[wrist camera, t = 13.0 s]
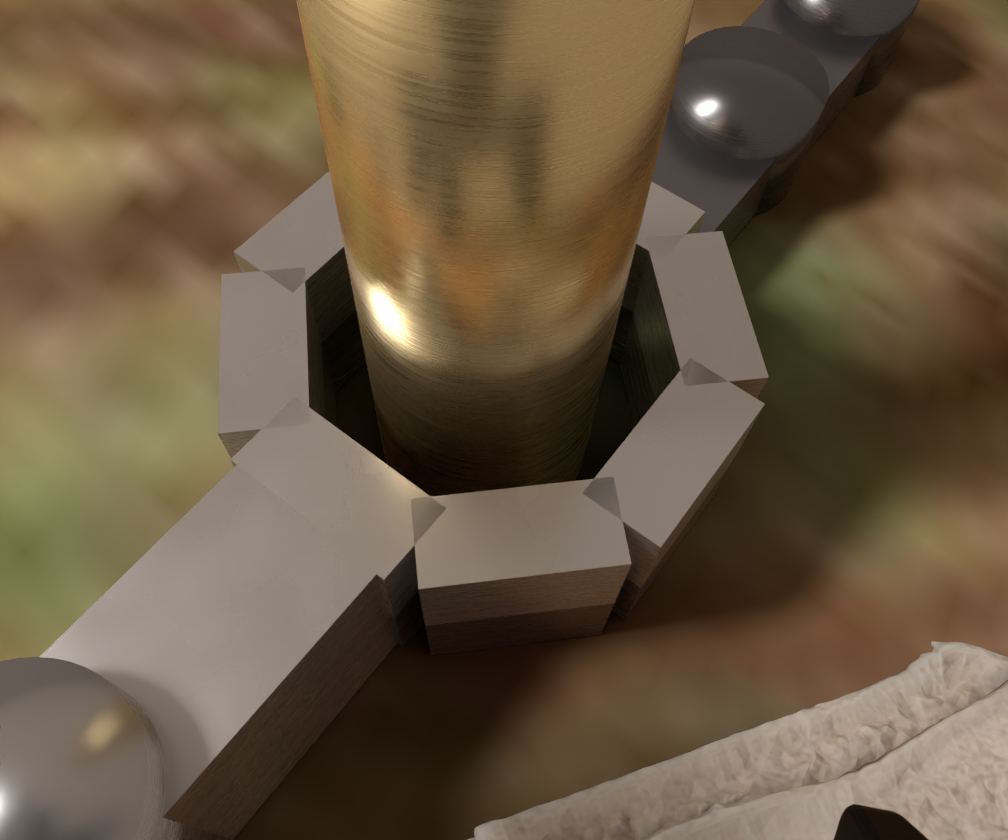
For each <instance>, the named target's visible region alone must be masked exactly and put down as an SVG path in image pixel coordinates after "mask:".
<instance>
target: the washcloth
mask: <svg viewBox="0 0 1008 840" xmlns="http://www.w3.org/2000/svg"><path fill="white" fill-rule="evenodd" d="M931 644H932V647H933V651H932V652H929V653H925V654H921V656H920V658H919V659H918V660H916V661H915V662H913V663H911V664H910V665H909V667H908V668H907V669H906V670H905V671H903V672H901V673H899V674H897V675H895V676H891V677H888V678H886V679H883V680H881V681H879V682H877V683H875V684H873V685H870V686H868V687H866V688H863V689H861V690H859V691H856V692H853V693H850V694H848V695H845V696H843V697H840V698H838V699H835V700H832V701H829V702H826V703H820V704H817V705H816V706H814V707H812V708H809V709H803V710H800V711H798V712H796V713H794V714H791V715H788V716H785V717H782V718H779V719H777V720H773V721H770V722H767V723H764V724H763V725H760V726H757V727H755V728H752V729H749V730H746V731H743V732H739V733H736V734H733V735H731V736H729V737H727V738H724V739H720V740H717V741H714V742H712V743H710V744H708V745H705V746H702V747H700V748H697V749H695V750H693V751H691V752H688V753H685V754H682V755H679V756H676V757H674V758H672V759H669V760H666V761H663V762H660V763H657V764H655V765H652V766H650V767H645V768H642V769H640V770H637V771H635V772H632V773H630V774H627V775H624V776H622V777H620V778H618V779H614V780H610V781H606V782H604V783H601V784H599V785H597V786H594V787H592V788H589V789H586V790H583V791H580V792H577V793H574V794H572V795H570V796H567V797H565V798H561V799H558V800H555V801H552V802H549V803H546V804H542V805H537V806H535V807H532V808H530V809H527V810H525V811H523V812H520V813H518V814H515V815H513V816H511V817H507V818H504V819H499V820H492V821H489V822H486V823H484V824H482V825H479V826H478V827H476V828H475V830H474V835H475V837H473V838H470V839H467V840H834V836H835V833H836V830H837V827H838V823H839V820H840V817H841V815H842V813H843V812H844V810H845V809H846V808H847V807H848V806H850V805H852V804H858V805H863V806H868V807H874V808H879V809H884V810H889V811H894V812H896V813H898V814H900V815H901V816H903V817H904V818H905V819H906V820H907V821H909V822H910V823H911V824H912V825H913V826H914V827H915V828H916V829H918V830H919V831H920V832H921V833H922V834H923V835H924V836H925V837H926V838H928V839H929V840H1008V657H1006V656H1003V655H1000V654H996V653H994V652H991V651H988V650H986V649H983V648H981V647H977V646H974V645H970V644H967V643H962V642H932V643H931Z"/></svg>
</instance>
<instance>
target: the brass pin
mask: <svg viewBox="0 0 1008 840" xmlns="http://www.w3.org/2000/svg"><path fill="white" fill-rule="evenodd" d="M694 4H695V0H297V5H298V10H299V16H300V21H301V26H302V31H303V36H304V41H305V47H306V52H307V57H308V62H309V67H310V73H311V78H312V83H313V88H314V93H315V98H316V104H317V109H318V114H319V119H320V124H321V130H322V135H323V140H324V145H325V150H326V155H327V161H328V166H329V171H330V176H331V181H332V187H333V192H334V197H335V202H336V207H337V212H338V218H339V223H340V228H341V233H342V238H343V244H344V249H345V254H346V259H347V264H348V270H349V275H350V280H351V285H352V290H353V295H354V301H355V306H356V311H357V316H358V321H359V327H360V332H361V337H362V342H363V347H364V352H365V358H366V363H367V368H368V373H369V378H370V384H371V389H372V394H373V399H374V404H375V409H376V415H377V420H378V425H379V430H380V435H381V441H382V446H383V451H384V456H385V460H386V463H387V465H388V466H390V467H391V468H392V469H394V470H395V471H396V472H398V473H399V474H401V475H402V476H403V477H405V478H406V479H407V480H409V481H410V482H411V483H413V484H414V485H416V486H417V487H418V488H420V489H421V490H422V491H424V492H425V493H426V494H428V495H429V496H430V497H433V496H442V495H451V494H460V493H469V492H478V491H487V490H496V489H506V488H515V487H524V486H533V485H542V484H551V483H560V482H569V481H575V480H576V478H577V476H578V474H579V472H580V469H581V466H582V463H583V460H584V457H585V452H586V448H587V444H588V440H589V436H590V432H591V428H592V424H593V420H594V415H595V411H596V407H597V403H598V399H599V395H600V391H601V387H602V383H603V378H604V374H605V370H606V366H607V362H608V358H609V354H610V350H611V346H612V341H613V337H614V333H615V329H616V325H617V321H618V317H619V313H620V309H621V304H622V300H623V296H624V292H625V288H626V284H627V280H628V276H629V272H630V267H631V263H632V259H633V255H634V251H635V247H636V243H637V239H638V235H639V230H640V226H641V222H642V218H643V214H644V210H645V206H646V202H647V198H648V193H649V189H650V185H651V181H652V177H653V173H654V169H655V165H656V161H657V156H658V152H659V148H660V144H661V140H662V136H663V132H664V128H665V124H666V119H667V115H668V111H669V107H670V103H671V99H672V95H673V91H674V87H675V82H676V78H677V74H678V70H679V66H680V62H681V58H682V54H683V50H684V45H685V41H686V37H687V33H688V29H689V25H690V21H691V17H692V13H693V8H694Z"/></svg>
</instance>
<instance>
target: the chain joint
mask: <svg viewBox="0 0 1008 840" xmlns="http://www.w3.org/2000/svg"><path fill="white" fill-rule="evenodd" d="M919 1H920V0H765V1H764V3H763V4H762V5H761V6H760V7H759V8H758V9H757V10H756V11H755V12H754V13H753V14H752V15H751V16H750V17H749V18H748V19H747V20H746V21H745V22H744V23H743V24H742V25H741V26H732V27H723V28H719V29H714V30H711V31H708V32H705V33H703V34H701V35H699V36H697V37H696V38H694V39H692V40H691V41H690V42H689V43H688V44H686V46H685V47H684V50H683V54H682V58H681V62H680V66H679V70H678V74H677V78H676V82H675V87H674V91H673V95H672V99H671V103H670V107H669V111H668V115H667V119H666V124H665V128H664V132H663V136H662V140H661V144H660V148H659V152H658V156H657V161H656V165H655V169H654V173H653V177H652V181H651V185H650V189H649V193H648V198H647V202H646V206H645V210H644V214H643V218H642V222H641V226H640V230H639V235H638V239H637V243H636V247H635V251H634V255H633V259H632V263H631V267H630V272H629V276H628V280H627V284H626V288H625V292H624V296H623V300H622V304H621V309H620V313H619V317H618V321H617V325H616V329H615V333H614V337H613V341H612V346H611V350H610V354H609V358H610V359H611V360H613V361H614V362H616V363H618V364H619V365H620V368H621V372H622V377H623V381H624V386H625V390H626V394H627V399H628V403H629V408H630V412H631V416H632V421H633V425H634V429H633V430H632V432H631V433H630V434H629V435H628V437H627V438H626V439H625V440H624V442H623V443H622V444H621V445H620V447H619V448H618V449H617V450H616V452H615V453H614V454H613V455H612V457H611V458H610V459H609V460H608V462H607V463H606V464H605V465H604V467H603V468H602V469H601V470H600V472H599V473H598V474H597V475H596V477H595V478H594V479H588V480H579V481H569V482H560V483H551V484H542V485H533V486H524V487H515V488H506V489H496V490H487V491H478V492H469V493H460V494H451V495H442V496H433V497H430V496H429V495H428V494H426V493H425V492H424V491H422V490H421V489H420V488H418V487H417V486H416V485H414V484H413V483H411V482H410V481H409V480H407V479H406V478H405V477H403V476H402V475H401V474H399V473H398V472H396V471H395V470H394V469H392V468H391V467H390V466H388V465H387V464H386V463H384V462H383V461H382V460H380V459H379V458H377V457H376V456H375V455H373V454H372V453H371V452H369V451H368V450H367V449H365V448H364V447H363V446H361V445H360V444H358V443H357V442H356V441H354V440H353V439H352V438H350V437H349V436H348V435H346V434H345V433H343V432H342V431H341V430H339V429H338V428H337V409H336V392H337V391H338V390H339V389H340V388H341V387H342V386H343V385H344V384H345V383H346V382H347V381H348V380H349V379H350V378H351V377H352V376H353V375H354V374H355V373H356V372H357V371H358V370H359V369H360V368H361V367H362V366H363V365H364V364H365V363H366V358H365V352H364V347H363V342H362V337H361V332H360V327H359V321H358V316H357V311H356V306H355V301H354V295H353V290H352V285H351V280H350V275H349V270H348V264H347V259H346V254H345V249H344V244H343V238H342V233H341V228H340V223H339V218H338V212H337V207H336V202H335V197H334V192H333V187H332V181H331V176H330V171H329V172H328V173H326V174H325V175H324V176H323V177H322V178H320V179H319V180H318V181H317V182H316V183H315V184H313V185H312V186H311V187H310V188H309V189H307V190H306V191H305V192H304V193H303V194H302V195H300V196H299V197H298V198H297V199H296V200H294V201H293V202H292V203H291V204H290V205H289V206H287V207H286V208H285V209H284V210H283V211H281V212H280V213H279V214H278V215H277V216H275V217H274V218H273V219H272V220H271V221H270V222H268V223H267V224H266V225H265V226H264V227H262V228H261V229H260V230H259V231H258V232H257V233H255V234H254V235H253V236H252V237H251V238H249V239H248V240H247V241H246V242H245V243H243V244H242V245H241V246H240V247H239V248H238V249H236V250H235V251H234V254H235V257H236V260H237V262H238V265H239V268H240V270H241V273H233V274H222V279H221V321H220V363H219V406H218V435H219V437H220V438H221V440H222V442H223V444H224V446H225V448H226V449H227V451H228V453H229V455H230V457H231V459H230V460H231V462H232V463H233V465H234V468H233V469H232V470H231V471H230V472H229V473H228V474H227V475H226V476H225V477H224V478H223V479H222V480H221V481H220V482H219V483H218V484H217V485H216V486H214V487H213V488H212V489H211V490H210V491H209V492H208V493H207V494H206V495H205V496H204V497H203V498H202V499H201V500H200V501H199V502H198V503H197V504H196V505H195V506H194V507H193V508H192V509H191V510H190V511H189V512H188V513H187V514H186V515H185V516H184V517H183V518H182V519H181V520H180V521H179V522H178V523H177V524H175V525H174V526H173V527H172V528H171V529H170V530H169V531H168V532H167V533H166V534H165V535H164V536H163V537H162V538H161V539H160V540H159V541H158V542H157V543H156V544H155V545H154V546H153V547H152V548H151V549H150V550H149V551H148V552H147V553H146V554H145V555H144V556H143V557H142V558H141V559H140V560H139V561H138V562H136V563H135V564H134V565H133V566H132V567H131V568H130V569H129V570H128V571H127V572H126V573H125V574H124V575H123V576H122V577H121V578H120V579H119V580H118V581H117V582H116V583H115V584H114V585H113V586H112V587H111V588H110V589H109V590H108V591H107V592H106V593H105V594H104V595H103V596H102V597H101V598H100V599H99V600H97V601H96V602H95V603H94V604H93V605H92V606H91V607H90V608H89V609H88V610H87V611H86V612H85V613H84V614H83V615H82V616H81V617H80V618H79V619H78V620H77V621H76V622H75V623H74V624H73V625H72V626H71V627H70V628H69V629H68V630H67V631H66V632H65V633H64V634H63V635H62V636H61V637H60V638H58V639H57V640H56V641H55V642H54V643H53V644H52V645H51V646H50V647H49V648H48V649H47V650H46V651H45V652H44V653H43V654H42V655H41V656H40V657H29V658H17V659H11V660H6V661H1V662H0V840H234V838H235V837H236V836H237V835H238V834H239V832H240V831H241V830H242V829H243V828H244V826H245V825H246V824H247V823H248V822H249V820H250V819H251V818H252V817H253V816H254V814H255V813H256V812H257V811H258V810H259V808H260V807H261V806H262V805H263V804H264V802H265V801H266V800H267V799H268V798H269V796H270V795H271V794H272V793H273V792H274V790H275V789H276V788H277V787H278V786H279V784H280V783H281V782H282V781H283V780H284V778H285V777H286V776H287V775H288V774H289V772H290V771H291V770H292V769H293V768H294V766H295V765H296V764H297V763H298V762H299V760H300V759H301V758H302V757H303V756H304V754H305V753H306V752H307V751H308V750H309V748H310V747H311V746H312V745H313V744H314V742H315V741H316V740H317V739H318V738H319V736H320V735H321V734H322V733H323V732H324V730H325V729H326V728H327V727H328V726H329V724H330V723H331V722H332V721H333V720H334V718H335V717H336V716H337V715H338V714H339V712H340V711H341V710H342V709H343V708H344V707H345V705H346V704H347V703H348V702H349V701H350V699H351V698H352V697H353V696H354V695H355V693H356V692H357V691H358V690H359V689H360V687H361V686H362V685H363V684H364V683H365V681H366V680H367V679H368V678H369V677H370V675H371V674H372V673H373V672H374V671H375V669H376V668H377V667H378V666H379V665H380V663H381V662H382V661H383V660H384V659H385V657H386V656H387V655H388V654H389V653H390V651H391V650H392V649H393V648H394V647H395V645H396V644H397V643H398V644H399V645H400V646H401V647H403V648H404V647H405V645H406V644H407V643H408V642H409V641H410V639H411V638H412V637H413V636H414V634H415V633H416V632H417V631H418V630H419V628H420V627H421V626H422V625H423V624H424V622H425V627H426V633H427V638H428V644H429V649H430V655H431V656H432V655H440V654H448V653H456V652H464V651H472V650H480V649H488V648H496V647H504V646H512V645H520V644H528V643H536V642H544V641H552V640H560V639H568V638H577V637H585V636H593V635H601V633H602V631H603V628H604V626H605V624H606V621H607V619H608V617H609V615H610V612H611V611H612V612H613V613H614V614H616V615H617V616H619V617H620V618H621V619H623V620H624V621H625V619H626V618H627V616H628V615H629V614H630V612H631V611H632V609H633V608H634V607H635V605H636V604H637V602H638V601H639V600H640V598H641V597H642V595H643V594H644V593H645V591H646V590H647V588H648V587H649V586H650V584H651V583H652V581H653V580H654V579H655V577H656V576H657V574H658V573H659V572H660V570H661V569H662V567H663V566H664V565H665V563H666V562H667V561H668V559H669V558H670V556H671V555H672V554H673V552H674V551H675V549H676V548H677V547H678V545H679V544H680V542H681V541H682V540H683V538H684V537H685V535H686V534H687V533H688V531H689V530H690V528H691V527H692V526H693V524H694V523H695V521H696V520H697V519H698V517H699V516H700V514H701V513H702V512H703V510H704V509H705V507H706V506H707V505H708V503H709V502H710V500H711V499H712V497H713V496H714V494H715V492H716V490H717V489H718V487H719V485H720V483H721V481H722V480H723V478H724V476H725V474H726V472H727V471H728V469H729V467H730V465H731V464H732V462H733V460H734V458H735V456H736V455H737V453H738V451H739V449H740V448H741V446H742V444H743V442H744V440H745V439H746V437H747V435H748V433H749V431H750V430H751V428H752V426H753V424H754V423H755V421H756V419H757V417H758V415H759V414H760V412H761V410H762V408H763V407H764V405H765V403H763V402H761V401H760V400H758V397H759V395H760V393H761V391H762V389H763V387H764V386H765V384H766V382H767V380H768V378H769V376H768V373H767V370H766V367H765V364H764V360H763V357H762V354H761V351H760V348H759V345H758V342H757V338H756V335H755V332H754V329H753V326H752V323H751V320H750V316H749V313H748V310H747V307H746V304H745V301H744V298H743V294H742V291H741V288H740V285H739V282H738V279H737V276H736V272H735V269H734V266H733V263H732V260H731V257H730V254H729V250H728V246H729V245H730V244H731V243H732V241H733V240H734V239H735V238H736V237H737V236H738V234H739V233H740V232H741V231H742V230H743V228H744V227H745V226H746V225H747V224H748V222H749V221H750V220H751V219H752V218H753V216H754V215H758V214H760V213H763V212H766V211H767V210H769V209H771V208H773V207H774V206H776V205H777V204H778V203H779V202H780V201H781V200H782V199H783V198H784V197H785V195H786V194H787V193H788V191H789V188H790V186H791V184H792V181H793V179H794V177H795V174H796V172H797V170H798V167H799V165H800V163H801V160H802V158H803V156H804V155H805V154H806V153H807V152H808V150H809V149H810V148H811V147H812V146H813V144H814V143H815V142H816V141H817V140H818V138H819V137H820V136H821V135H822V134H823V132H824V131H825V130H826V129H827V128H828V126H829V125H830V124H831V123H832V122H833V120H834V119H835V118H836V117H837V116H838V114H839V113H840V112H841V111H842V110H843V108H844V107H845V106H846V105H847V104H848V102H849V101H850V100H851V99H852V98H853V96H857V95H860V94H862V93H865V92H867V91H869V90H870V89H872V88H873V87H875V86H876V85H877V84H878V83H879V82H880V80H881V79H882V77H883V75H884V73H885V71H886V69H887V67H888V65H889V63H890V61H891V59H892V57H893V55H894V53H895V50H896V48H897V46H898V44H899V42H900V40H901V38H902V36H903V34H904V32H905V30H906V28H907V26H908V24H909V22H910V20H911V18H912V16H913V13H914V11H915V9H916V7H917V5H918V3H919Z"/></svg>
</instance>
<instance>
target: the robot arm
mask: <svg viewBox="0 0 1008 840" xmlns="http://www.w3.org/2000/svg"><path fill="white" fill-rule="evenodd" d="M834 840H929V839H928V838H926V837H925V836H924V835H923V834H922V833H921V832H920V831H919V830H918V829H916V828H915V827H914V826H913V825H912V824H911V823H910V822H909V821H907V820H906V819H905V818H904V817H903V816H901V815H900V814H898V813H896V812H894V811H889V810H884V809H879V808H874V807H868V806H863V805H858V804H852V805H850V806H848V807H847V808H846V809H845V810H844V812H843V813H842V815H841V817H840V820H839V823H838V827H837V830H836V833H835V836H834Z"/></svg>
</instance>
